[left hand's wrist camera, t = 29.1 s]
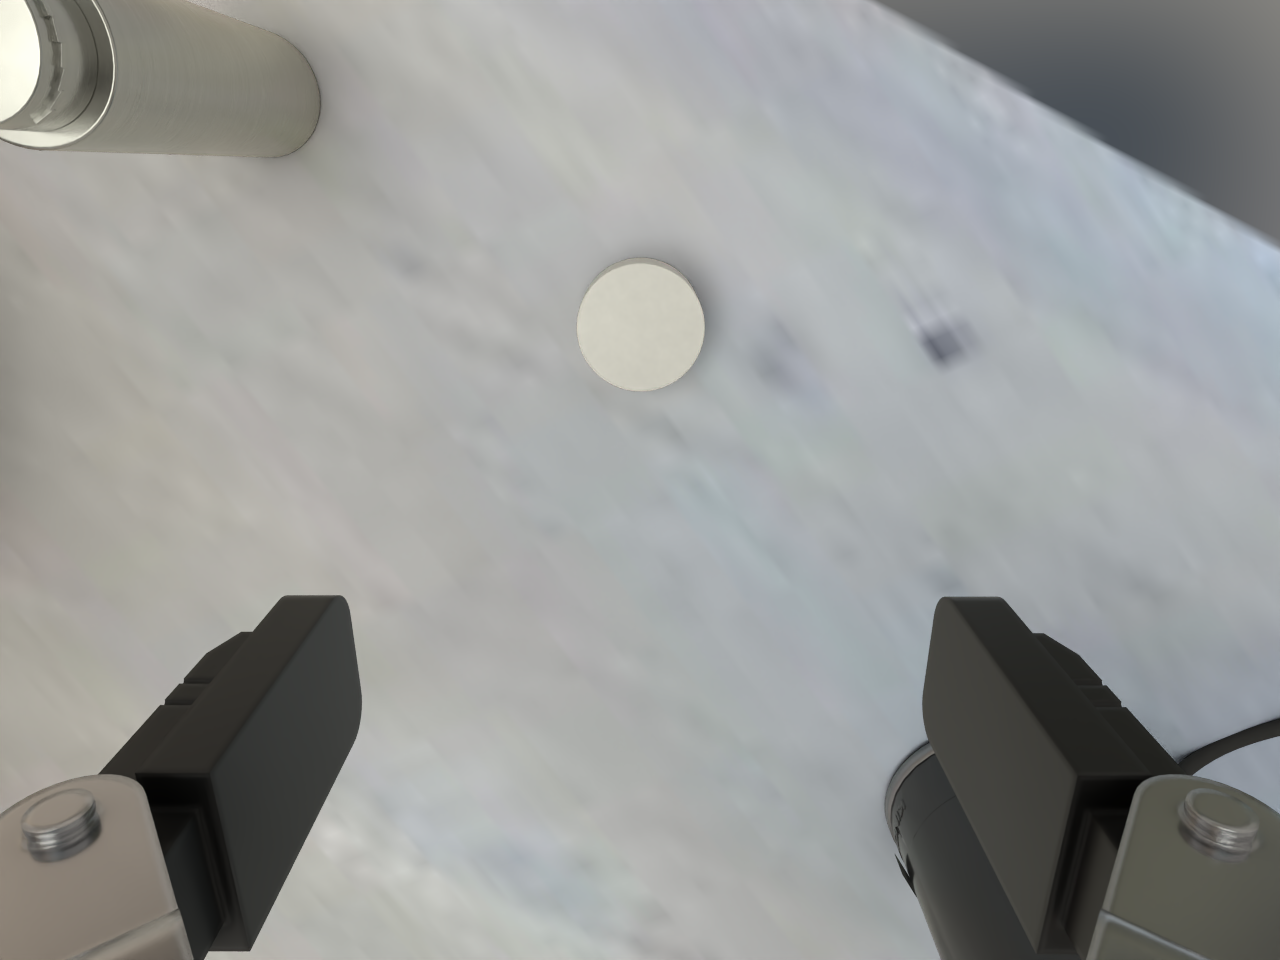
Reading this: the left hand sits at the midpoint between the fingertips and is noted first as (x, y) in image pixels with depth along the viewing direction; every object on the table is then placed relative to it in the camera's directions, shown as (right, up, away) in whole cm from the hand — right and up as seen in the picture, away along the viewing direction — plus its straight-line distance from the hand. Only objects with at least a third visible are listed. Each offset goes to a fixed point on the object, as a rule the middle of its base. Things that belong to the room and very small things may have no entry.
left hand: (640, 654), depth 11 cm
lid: (0, +9, +23) cm, 25 cm away
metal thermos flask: (-15, +18, +22) cm, 32 cm away
